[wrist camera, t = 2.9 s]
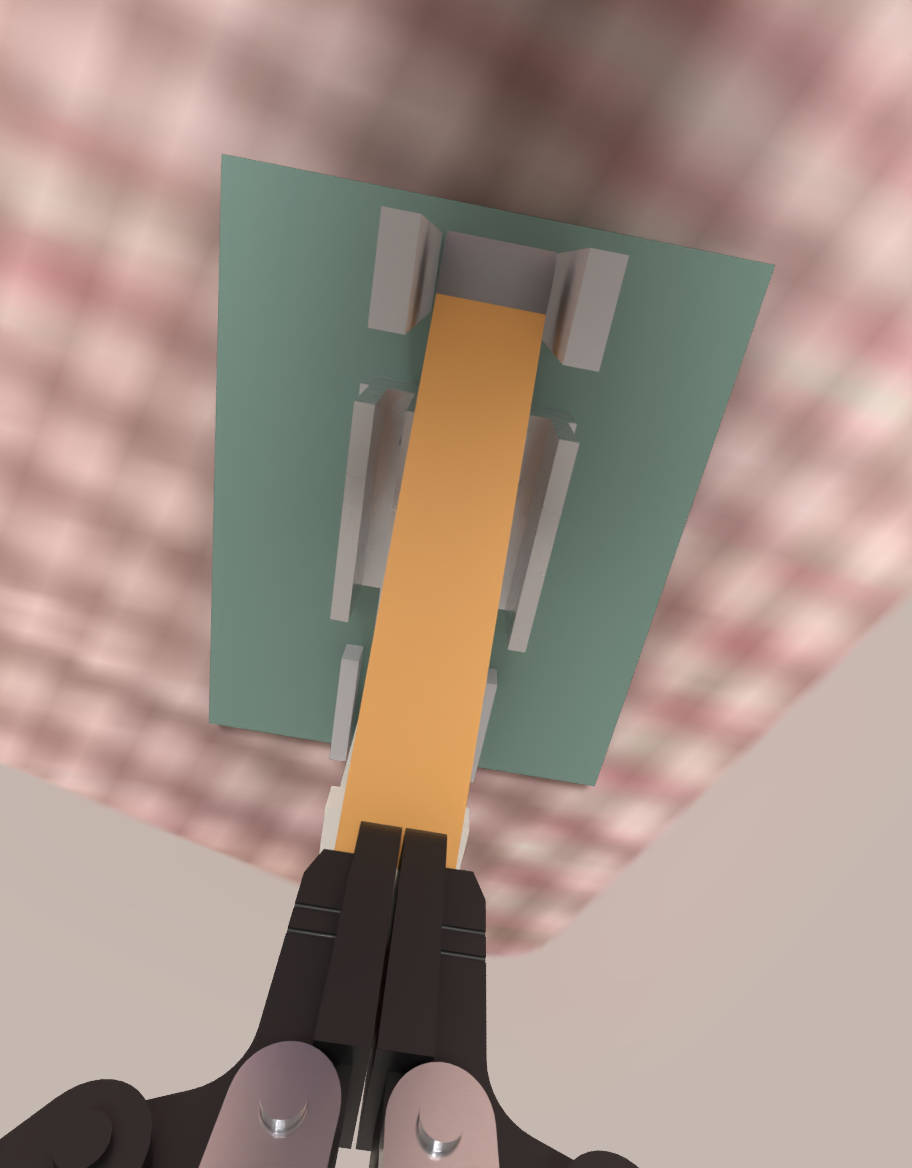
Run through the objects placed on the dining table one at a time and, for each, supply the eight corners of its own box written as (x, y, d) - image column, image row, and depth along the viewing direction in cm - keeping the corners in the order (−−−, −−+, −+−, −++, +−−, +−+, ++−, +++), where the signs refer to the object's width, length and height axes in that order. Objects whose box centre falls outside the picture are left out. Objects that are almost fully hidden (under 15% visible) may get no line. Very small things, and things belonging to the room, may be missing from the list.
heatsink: (370, 373, 20) (343, 399, 16) (569, 411, 20) (589, 445, 16) (348, 557, 22) (321, 617, 19) (525, 589, 23) (533, 654, 19)
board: (234, 159, 18) (68, 87, 11) (761, 264, 19) (938, 263, 12) (218, 707, 26) (115, 880, 19) (590, 768, 27) (632, 958, 20)
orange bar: (446, 263, 15) (450, 210, 13) (542, 283, 15) (560, 232, 13) (341, 836, 13) (330, 863, 12) (450, 853, 14) (455, 883, 12)
